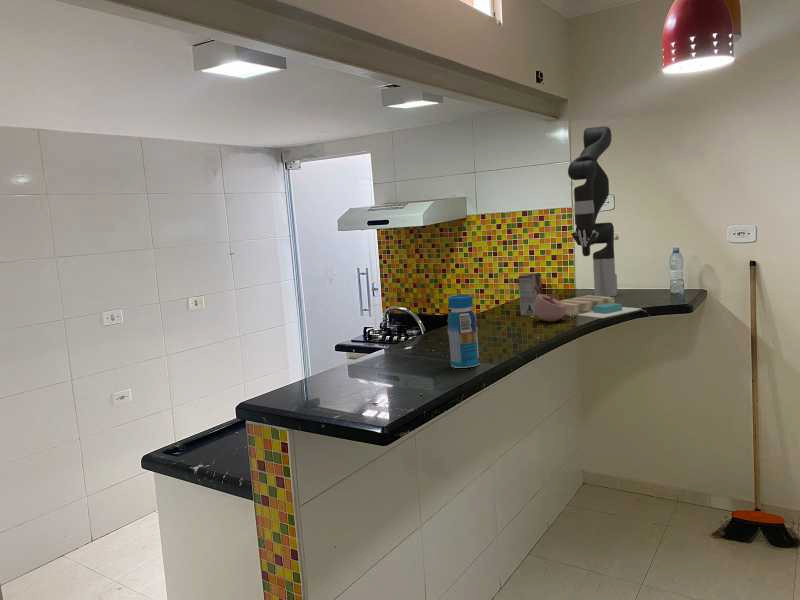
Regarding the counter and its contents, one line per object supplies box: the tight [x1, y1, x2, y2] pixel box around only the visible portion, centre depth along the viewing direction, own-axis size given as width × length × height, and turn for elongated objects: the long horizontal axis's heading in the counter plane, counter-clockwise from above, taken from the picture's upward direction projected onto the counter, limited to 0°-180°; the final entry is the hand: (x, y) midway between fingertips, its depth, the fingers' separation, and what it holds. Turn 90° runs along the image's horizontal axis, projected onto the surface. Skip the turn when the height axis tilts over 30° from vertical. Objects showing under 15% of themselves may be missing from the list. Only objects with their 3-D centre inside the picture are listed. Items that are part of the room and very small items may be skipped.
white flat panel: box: [577, 306, 642, 319], centre depth 236 cm, size 22×12×1 cm, turn 120°
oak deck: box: [559, 294, 615, 316], centre depth 248 cm, size 22×14×4 cm, turn 120°
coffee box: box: [517, 272, 543, 317], centre depth 248 cm, size 9×6×16 cm
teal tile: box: [593, 303, 623, 314], centre depth 237 cm, size 9×6×2 cm, turn 120°
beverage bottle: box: [446, 294, 481, 369], centre depth 171 cm, size 8×8×20 cm
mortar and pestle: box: [534, 290, 567, 323], centre depth 228 cm, size 12×12×11 cm
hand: (586, 255), depth 245 cm, fingers closed
